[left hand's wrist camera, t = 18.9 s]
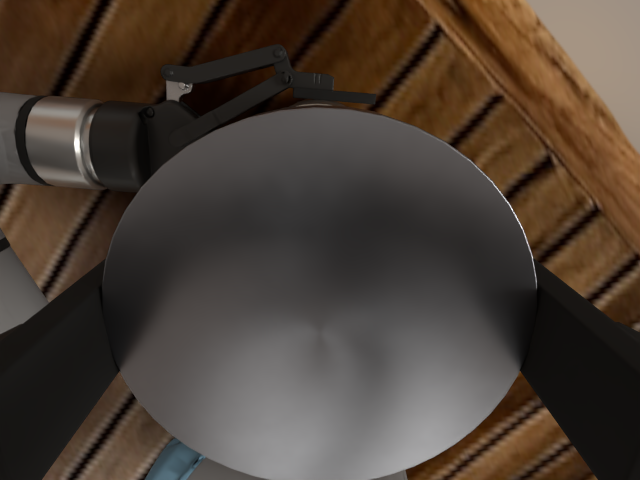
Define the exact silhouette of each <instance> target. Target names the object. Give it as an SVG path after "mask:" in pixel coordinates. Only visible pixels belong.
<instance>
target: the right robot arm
mask: <svg viewBox="0 0 640 480" xmlns="http://www.w3.org/2000/svg"><path fill="white" fill-rule="evenodd" d="M271 66H274V67H275V71H276V75H275V76H273V77H271V78H269V79H267V80H266V81H264V82H262V83H260V84H259V85H257V86H255V87H253V88H252V89H250V90H248V91H246V92H244V93H243V94H241V95H239V96H237V97H236V98H234V99H232V100H230V101H229V102H227V103H225V104H223V105H221V106H220V107H218V108H216V109H214V110H212V111H210V112H208V113H206V114H204V115H203V116H200V115H199V114H198V113H196V112H195V111H194V110H193V109H192V108H190V107H189V106H188V105H187V104H185V103H184V102H183V97H184V96H185V95H186V94H189V93H192V92H194V90H195V87H196V84H204V83H209V82H213V81H217V80H221V79H225V78H229V77H232V76H236V75H240V74H244V73H248V72H252V71H255V70H259V69H263V68H267V67H271ZM161 75H162V77H163V78H164V79H165V80H166V88H167V100H166V101H164V102H162V103H160V104H146V103H133V102H121V101H107V102H105V103H104V102H102V101H100V100H96V99H84V98H71V97H59V96H33V95H24V94H14V93H5V92H0V184H12V183H14V184H32V185H47V186H59V187H71V188H82V189H94V190H104V189H107V188H108V189H110V190H112V191H122V192H136V193H138V191H139V190H140V189H141V187H142V186H143V185H144V184H145V183H146V182H147V181H148V180H149V179H150V178H151V177H152V175H153V174H154V173H155V172H156V171H157V170H158V169H159V168H160V167H161V166H162V165H163V164H164V163H166V162H167V161H168V160H170V159H171V158H172V157H174V156H175V155H176V154H177V153H179V152H180V151H181V150H183V149H184V148H185V147H186V146H188V145H190V144H191V143H193V142H195V141H197V140H199V139H200V138H202V137H204V136H206V135H208V134H209V133H211V132H213V131H215V130H216V128H218V127H220V126H222V125H223V124H225V123H227V122H228V121H230V120H232V119H234V118H236V117H237V116H239V115H241V114H243V113H245V112H246V111H248V110H250V109H252V108H254V107H255V106H257V105H259V104H261V103H263V102H264V101H266V100H268V99H270V98H272V97H273V96H275V95H277V94H279V93H281V92H282V91H284V90H286V89H288V88H293V98H305V99H317V100H329V101H341V102H353V103H366V104H375V99H376V94H368V93H356V92H344V91H333V85H334V77H332V76H330V75H328V74H317V73H305V72H296V71H294V70H293V69H292V67H291V64H290V61H289V57H288V53H287V51H286V50H285V48H284V47H283V46H282V45H279V44H275V45H272V46H268V47H264V48H260V49H257V50H253V51H249V52H245V53H242V54H238V55H234V56H230V57H226V58H223V59H219V60H215V61H211V62H208V63H204V64H200V65H196V66H193V67H185V66H177V65H169V64H167V65H164V66H163V67H162V68H161ZM47 304H49V302H48V301H47V299H46V298H45V296H44V295H43V293H42V292H41V290H40V289H39V288H38V286H37V285H36V283H35V282H34V280H33V279H32V277H31V276H30V274H29V273H28V271H27V270H26V268H25V267H24V266H23V264H22V263H21V261H20V260H19V258H18V257H17V255H16V254H15V252H14V251H13V249H12V248H11V246H10V243H9V242H8V240H7V239H6V237H5V235H4V233H3V232H2V230H1V229H0V334H2V333H4V332H6V331H8V330H10V329H12V328H14V327H16V326H18V325H20V324H23V323H24V322H26V321H27V320H28V319H29V318H31V317H32V316H33V315H35V314H36V313H37V312H38V311H40V310H41V309H42V308H43V307H45V306H46V305H47Z"/></svg>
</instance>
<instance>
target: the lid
mask: <svg viewBox="0 0 640 480" xmlns="http://www.w3.org/2000/svg"><path fill="white" fill-rule="evenodd" d="M536 312H537V278H536V273H535V267H534V261H533V256H532V252H531V249H530V246H529V244H528V241H527V238H526V235H525V232H524V229H523V227H522V225H521V223H520V222H519V220H518V218H517V216H516V214H515V212H514V210H513V209H512V207H511V205H510V203H509V202H508V201H507V199H506V198H505V197H504V195H503V194H502V193H501V191H500V190H499V189H498V187H497V186H496V185H495V183H494V182H493V181H492V180H491V179H490V178H489V177H488V176H487V175H486V174H485V173H484V172H483V171H482V170H481V169H480V168H479V167H478V166H477V165H476V164H475V163H474V162H473V161H471V160H470V159H469V158H468V157H466V156H465V155H463V154H462V153H461V152H459V151H458V150H456V149H455V148H454V147H452V146H451V145H449V144H448V143H447V142H445V141H443V140H441V139H439V138H437V137H435V136H433V135H432V134H430V133H428V132H426V131H424V130H422V129H420V128H418V127H416V126H413V125H411V124H408V123H405V122H403V121H400V120H397V119H394V118H391V117H388V116H385V115H382V114H379V113H376V112H372V111H367V110H362V109H357V108H352V107H346V106H329V105H308V106H297V107H286V108H281V109H277V110H273V111H268V112H264V113H260V114H256V115H253V116H251V117H248V118H245V119H243V120H240V121H238V122H235V123H232V124H230V125H227V126H225V127H222V128H219V129H217V130H215V131H213V132H211V133H209V134H208V135H206V136H204V137H202V138H200V139H199V140H197V141H195V142H193V143H191V144H190V145H188V146H186V147H185V148H184V149H183V150H181V151H180V152H179V153H177V154H176V155H175V156H174V157H172V158H171V159H170V160H168V161H167V162H166V163H164V164H163V165H162V166H161V167H160V168H159V169H158V170H157V171H156V172H155V173H154V174H153V175H152V177H151V178H150V179H149V180H148V181H147V182H146V183H145V184H144V185H143V186H142V187H141V189H140V190H139V191H138V193H137V194H136V196H135V197H134V199H133V200H132V201H131V203H130V204H129V206H128V207H127V209H126V210H125V212H124V214H123V216H122V218H121V220H120V222H119V224H118V226H117V229H116V231H115V233H114V235H113V238H112V241H111V244H110V248H109V251H108V254H107V257H106V261H105V268H104V275H103V283H102V313H103V318H104V323H105V327H106V332H107V337H108V341H109V344H110V348H111V351H112V354H113V357H114V360H115V362H116V364H117V366H118V368H119V370H120V372H121V374H122V376H123V378H124V380H125V382H126V384H127V385H128V387H129V388H130V390H131V391H132V392H133V394H134V395H135V397H136V398H137V400H138V401H139V402H140V404H141V405H142V406H143V407H144V408H145V409H146V410H147V412H148V413H149V414H150V415H151V416H152V417H153V418H154V419H155V420H156V421H157V422H158V423H159V424H160V425H161V426H162V427H163V428H165V429H166V430H167V431H168V432H169V433H170V434H171V435H173V436H174V437H175V438H177V439H178V440H180V441H181V442H182V443H184V444H185V445H186V446H188V447H189V448H191V449H193V450H194V451H196V452H198V453H200V454H201V455H203V456H205V457H207V458H208V459H210V460H213V461H215V462H217V463H219V464H222V465H224V466H226V467H228V468H231V469H234V470H237V471H240V472H243V473H246V474H249V475H252V476H255V477H260V478H264V479H269V480H371V479H375V478H379V477H383V476H387V475H391V474H394V473H397V472H400V471H402V470H405V469H408V468H411V467H414V466H416V465H418V464H420V463H422V462H424V461H426V460H428V459H431V458H433V457H435V456H436V455H438V454H440V453H441V452H443V451H445V450H446V449H448V448H450V447H451V446H453V445H455V444H456V443H457V442H459V441H460V440H461V439H462V438H464V437H465V436H466V435H468V434H469V433H470V432H472V431H473V430H474V429H475V428H476V427H477V426H478V425H479V424H480V423H481V422H482V421H483V420H484V419H485V418H486V417H487V416H488V415H489V414H490V413H491V412H492V411H493V410H494V409H495V407H496V406H497V405H498V404H499V402H500V401H501V400H502V399H503V397H504V396H505V395H506V393H507V392H508V390H509V388H510V387H511V385H512V384H513V382H514V380H515V379H516V377H517V376H518V373H519V371H520V369H521V367H522V364H523V362H524V360H525V358H526V356H527V353H528V350H529V346H530V342H531V338H532V334H533V330H534V325H535V320H536Z"/></svg>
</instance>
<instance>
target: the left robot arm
mask: <svg viewBox="0 0 640 480" xmlns="http://www.w3.org/2000/svg"><path fill="white" fill-rule="evenodd" d="M105 261H106V259H105V260H103V261H102V262H101V263H100V264H98V265H97V266H96V267H94V268H93V269H92V270H91V271H89V272H88V273H87V274H86V275H84V276H83V277H82V278H80V279H79V280H78V281H77V282H75V283H74V284H73V285H72V286H70V287H69V288H68V289H66V290H65V291H64V292H63V293H61V294H60V295H59V296H57V297H56V298H55V299H54V300H52V301H51V302H50V303H49V304H47V305H46V306H45V307H43V308H42V309H41V310H40V311H38V312H37V313H36V314H35V315H33V316H32V317H31V318H29V319H28V320H27V321H26V322H24V323H23V324H20V325H18V326H16V327H14V328H12V329H10V330H8V331H6V332H4V333H2V334H0V480H42V479H43V477H44V476H45V474H46V473H47V472H48V470H49V469H50V467H51V466H52V465H53V463H54V462H55V460H56V459H57V458H58V456H59V455H60V453H61V452H62V451H63V449H64V448H65V446H66V445H67V444H68V442H69V441H70V439H71V438H72V437H73V435H74V434H75V432H76V431H77V430H78V428H79V427H80V425H81V424H82V423H83V421H84V420H85V418H86V417H87V416H88V414H89V413H90V411H91V410H92V409H93V407H94V406H95V404H96V403H97V402H98V400H99V399H100V397H101V396H102V395H103V393H104V392H105V390H106V389H107V388H108V386H109V385H110V383H111V382H112V381H113V379H114V378H115V376H116V375H117V374H118V372H119V371H120V370H119V368H118V366H117V364H116V362H115V360H114V357H113V354H112V351H111V348H110V344H109V341H108V337H107V332H106V327H105V323H104V318H103V313H102V283H103V275H104V268H105ZM533 261H534V267H535V273H536V278H537V312H536V320H535V325H534V330H533V334H532V338H531V342H530V346H529V350H528V353H527V356H526V358H525V360H524V362H523V364H522V367H521V369H520V371H521V373H522V374H523V375H524V377H525V378H526V380H527V381H528V382H529V384H530V385H531V387H532V388H533V389H534V391H535V392H536V394H537V395H538V396H539V398H540V399H541V401H542V402H543V403H544V405H545V406H546V408H547V409H548V410H549V412H550V413H551V415H552V416H553V417H554V419H555V420H556V422H557V423H558V424H559V426H560V427H561V429H562V430H563V431H564V433H565V434H566V436H567V437H568V438H569V440H570V441H571V443H572V444H573V445H574V447H575V448H576V450H577V451H578V452H579V454H580V455H581V457H582V458H583V459H584V461H585V462H586V464H587V465H588V466H589V468H590V469H591V471H592V472H593V473H594V475H595V476H596V478H597V479H598V480H640V332H638V331H636V330H634V329H632V328H630V327H628V326H626V325H623V324H621V323H619V322H614V321H613V320H612V319H610V318H609V317H608V316H606V315H605V314H604V313H603V312H601V311H600V310H599V309H597V308H596V307H595V306H594V305H592V304H591V303H590V302H589V301H587V300H586V299H585V298H583V297H582V296H581V295H580V294H578V293H577V292H576V291H575V290H573V289H572V288H571V287H569V286H568V285H567V284H566V283H564V282H563V281H562V280H561V279H559V278H558V277H557V276H555V275H554V274H553V273H552V272H550V271H549V270H548V269H547V268H545V267H544V266H543V265H541V264H540V263H539V262H538V261H536V260H535V259H534V258H533ZM145 480H269V479H264V478H260V477H255V476H252V475H249V474H246V473H243V472H240V471H237V470H234V469H231V468H228V467H226V466H224V465H222V464H219V463H217V462H215V461H213V460H210V459H208V458H207V457H205V456H203V455H201V454H200V453H198V452H196V451H194V450H193V449H191V448H189V447H188V446H186V445H185V444H184V443H182V442H181V441H180V440H178V439H177V438H174V439H173V440H172V441H171V442H170V443H169V444H168V445H167V446H166V447H165V448H164V450H163V451H162V453H161V454H160V455H159V457H158V458H157V460H156V461H155V463H154V465H153V466H152V468H151V470H150V472H149V473H148V475H147V477H146V479H145ZM371 480H407V476H406V472H405V470H402V471H400V472H397V473H394V474H391V475H387V476H383V477H379V478H375V479H371Z"/></svg>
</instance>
